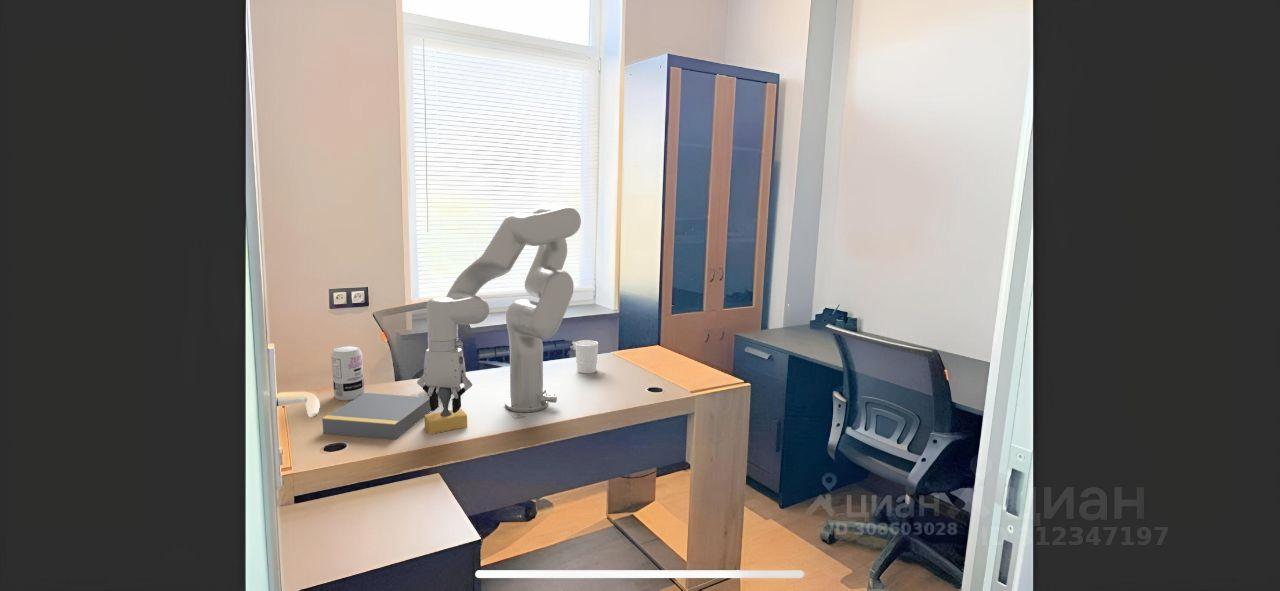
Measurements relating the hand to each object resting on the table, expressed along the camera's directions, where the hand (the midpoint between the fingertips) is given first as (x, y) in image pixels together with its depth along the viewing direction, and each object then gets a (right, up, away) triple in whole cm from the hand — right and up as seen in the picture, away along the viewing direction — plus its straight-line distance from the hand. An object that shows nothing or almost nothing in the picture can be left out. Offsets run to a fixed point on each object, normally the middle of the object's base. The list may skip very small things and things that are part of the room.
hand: (445, 409), depth 169 cm
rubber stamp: (0, -5, +1) cm, 5 cm away
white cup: (+33, +4, +52) cm, 62 cm away
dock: (-19, -4, +3) cm, 20 cm away
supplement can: (-36, 0, +22) cm, 42 cm away
